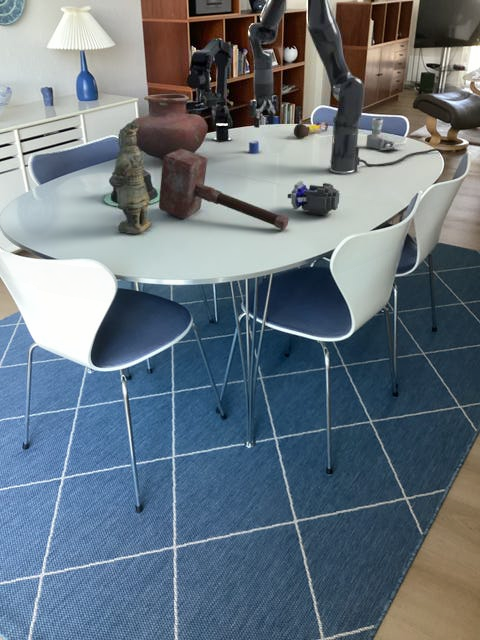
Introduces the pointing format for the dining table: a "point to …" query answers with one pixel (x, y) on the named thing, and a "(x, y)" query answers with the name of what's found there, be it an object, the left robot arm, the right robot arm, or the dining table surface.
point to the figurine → (307, 129)
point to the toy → (315, 198)
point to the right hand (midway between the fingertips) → (264, 125)
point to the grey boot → (379, 137)
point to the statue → (131, 182)
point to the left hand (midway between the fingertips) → (205, 124)
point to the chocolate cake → (152, 192)
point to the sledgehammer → (200, 190)
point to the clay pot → (169, 126)
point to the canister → (253, 147)
